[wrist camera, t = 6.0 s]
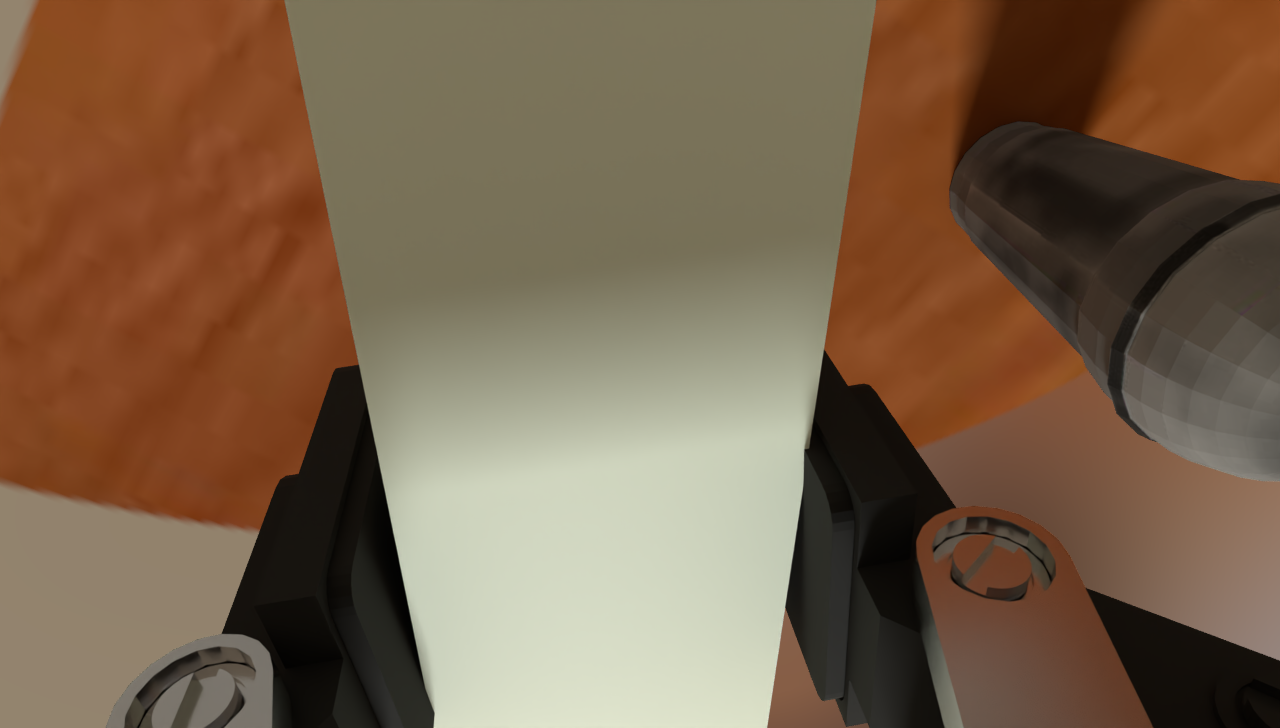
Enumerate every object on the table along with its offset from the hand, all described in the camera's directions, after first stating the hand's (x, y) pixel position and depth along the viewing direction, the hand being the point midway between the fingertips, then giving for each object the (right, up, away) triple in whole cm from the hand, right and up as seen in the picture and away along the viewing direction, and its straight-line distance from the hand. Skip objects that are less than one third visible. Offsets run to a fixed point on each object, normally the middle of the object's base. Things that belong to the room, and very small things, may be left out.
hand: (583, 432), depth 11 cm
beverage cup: (+14, +8, +19) cm, 25 cm away
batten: (0, +1, +1) cm, 1 cm away
